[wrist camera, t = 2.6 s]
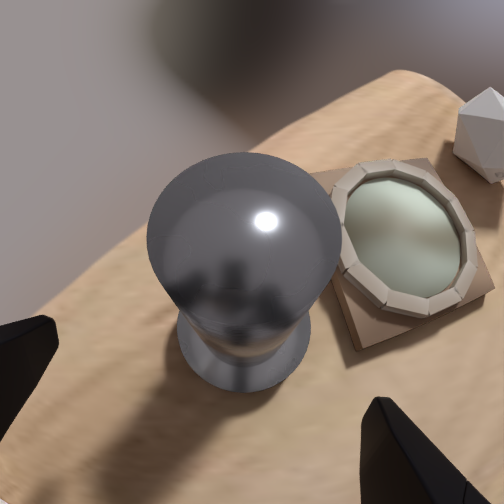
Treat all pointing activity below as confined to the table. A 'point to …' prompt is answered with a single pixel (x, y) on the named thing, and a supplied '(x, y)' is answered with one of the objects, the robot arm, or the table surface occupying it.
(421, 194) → the board
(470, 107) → the die
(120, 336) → the table surface
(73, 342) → the table surface
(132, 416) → the table surface
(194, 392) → the table surface
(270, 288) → the silver round peg
